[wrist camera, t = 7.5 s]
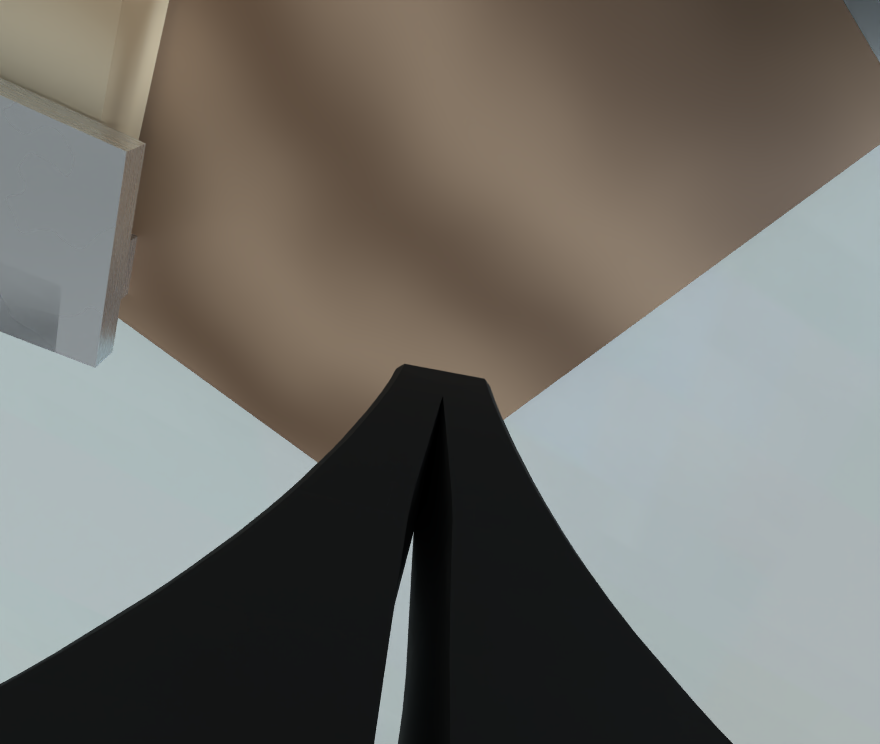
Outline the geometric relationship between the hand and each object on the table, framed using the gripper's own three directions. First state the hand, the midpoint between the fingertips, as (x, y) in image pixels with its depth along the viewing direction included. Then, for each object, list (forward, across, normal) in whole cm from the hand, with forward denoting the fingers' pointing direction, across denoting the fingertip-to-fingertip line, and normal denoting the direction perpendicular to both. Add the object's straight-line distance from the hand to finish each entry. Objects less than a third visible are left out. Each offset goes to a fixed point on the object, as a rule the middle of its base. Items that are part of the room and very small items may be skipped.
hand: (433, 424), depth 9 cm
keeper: (+8, +10, +1) cm, 13 cm away
